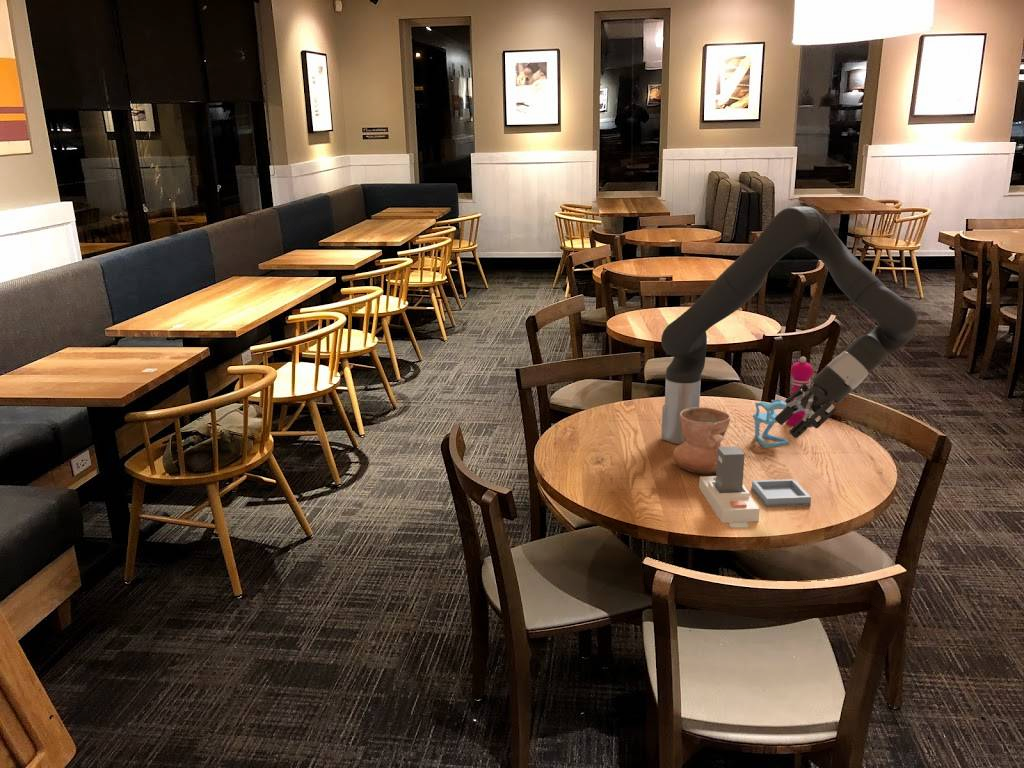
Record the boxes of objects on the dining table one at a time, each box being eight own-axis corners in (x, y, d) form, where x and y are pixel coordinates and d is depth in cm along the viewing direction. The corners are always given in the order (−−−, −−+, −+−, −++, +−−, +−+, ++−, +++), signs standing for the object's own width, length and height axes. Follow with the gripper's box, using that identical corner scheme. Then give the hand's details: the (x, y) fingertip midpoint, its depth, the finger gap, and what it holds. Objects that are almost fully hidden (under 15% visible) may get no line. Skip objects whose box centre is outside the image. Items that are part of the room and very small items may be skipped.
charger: (714, 488, 185) (717, 447, 182) (735, 487, 185) (737, 446, 183) (721, 496, 181) (723, 454, 178) (741, 495, 181) (744, 454, 178)
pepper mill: (814, 428, 230) (820, 359, 224) (788, 428, 230) (794, 360, 224) (805, 419, 237) (811, 353, 231) (780, 420, 237) (786, 353, 231)
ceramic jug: (745, 477, 198) (748, 422, 194) (689, 483, 195) (692, 427, 191) (711, 452, 215) (714, 401, 211) (659, 457, 212) (661, 405, 208)
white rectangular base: (699, 488, 192) (700, 471, 191) (732, 487, 193) (733, 470, 192) (722, 522, 175) (723, 505, 174) (758, 521, 176) (760, 503, 174)
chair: (771, 434, 226) (774, 393, 223) (789, 444, 218) (793, 401, 215) (747, 438, 224) (749, 396, 220) (765, 448, 216) (768, 405, 213)
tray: (766, 506, 182) (767, 498, 182) (751, 488, 192) (752, 480, 191) (810, 505, 183) (811, 497, 182) (793, 486, 192) (794, 479, 192)
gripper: (816, 357, 183) (762, 407, 185) (844, 374, 169) (785, 428, 172) (837, 379, 184) (783, 428, 187) (866, 398, 171) (808, 451, 174)
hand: (784, 428), depth 179 cm, fingers open, 8 cm apart
